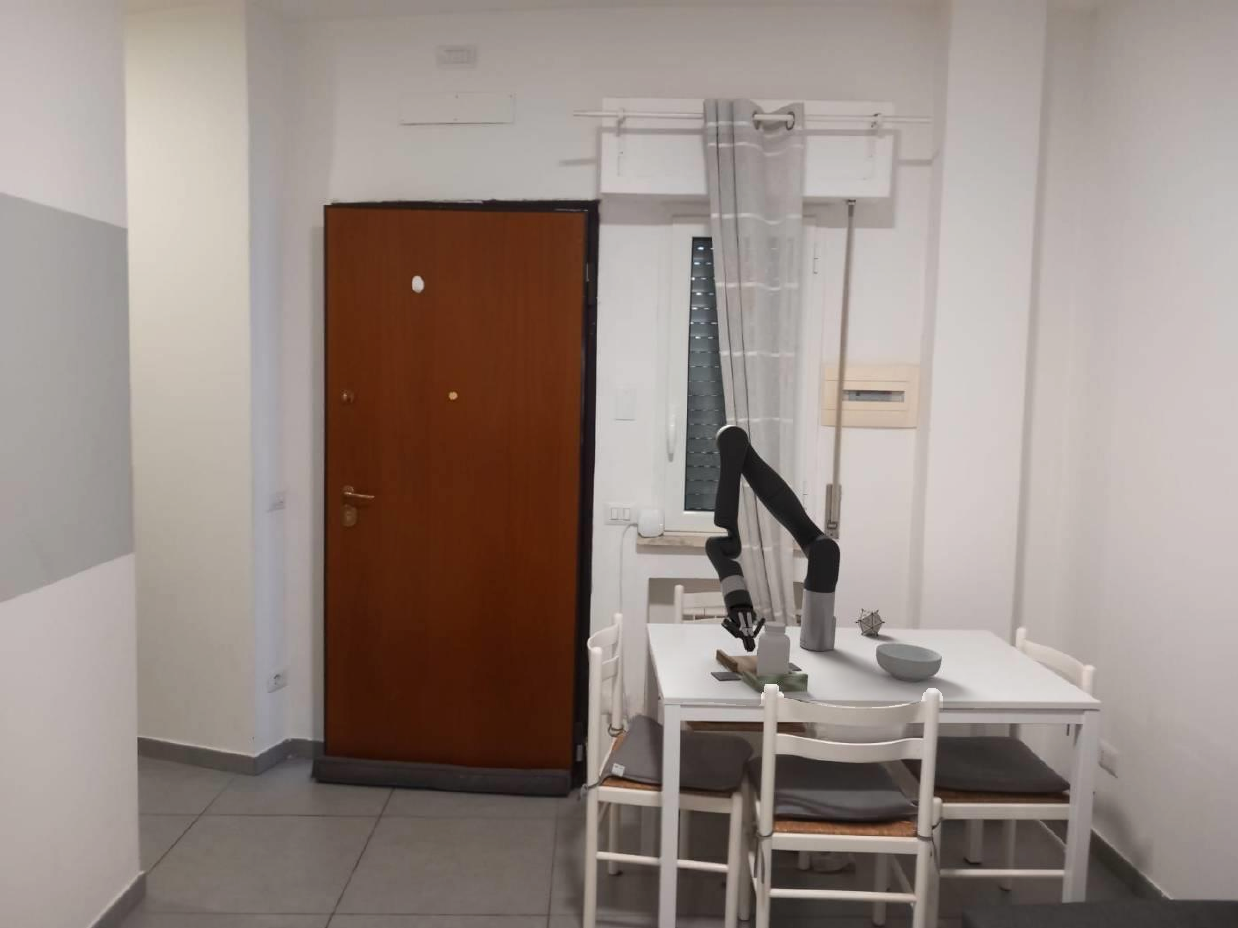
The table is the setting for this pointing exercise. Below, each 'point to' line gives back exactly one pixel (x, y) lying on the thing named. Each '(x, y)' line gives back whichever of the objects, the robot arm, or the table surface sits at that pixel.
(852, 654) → the table surface
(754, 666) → the lane
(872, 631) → the spiked polyhedron ball
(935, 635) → the table surface
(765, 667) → the pill bottle
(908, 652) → the cereal bowl
